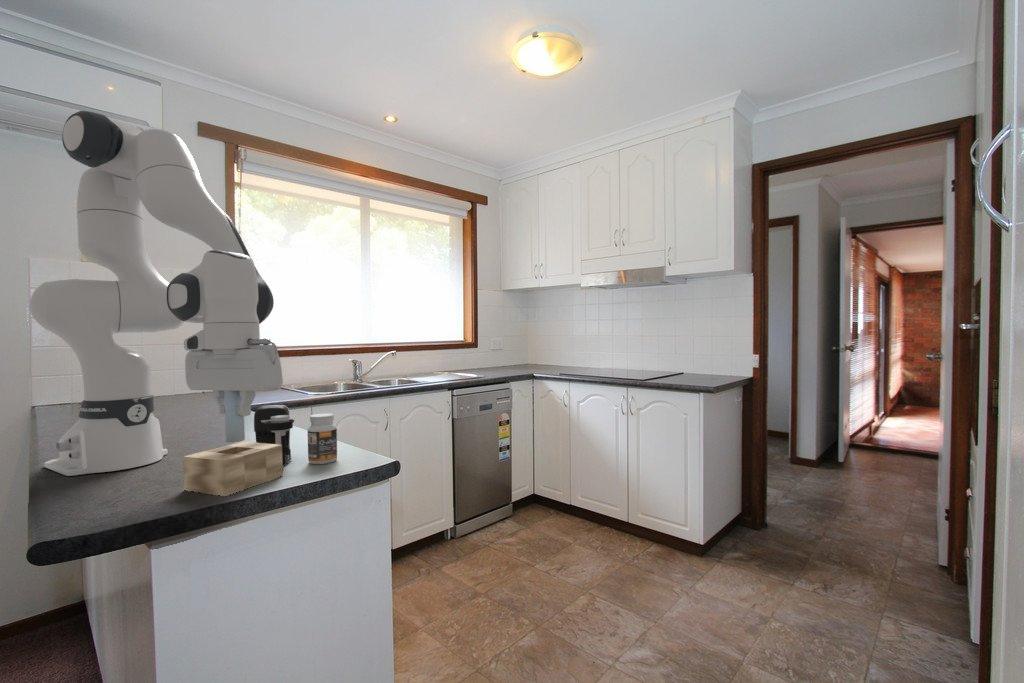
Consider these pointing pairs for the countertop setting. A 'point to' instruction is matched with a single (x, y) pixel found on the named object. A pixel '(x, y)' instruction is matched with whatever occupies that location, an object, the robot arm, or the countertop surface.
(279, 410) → the coffee maker
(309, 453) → the pill bottle
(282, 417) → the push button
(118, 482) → the countertop surface
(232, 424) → the peg
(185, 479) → the socket block
